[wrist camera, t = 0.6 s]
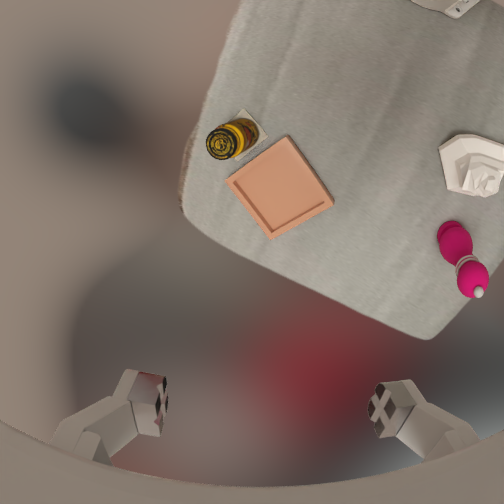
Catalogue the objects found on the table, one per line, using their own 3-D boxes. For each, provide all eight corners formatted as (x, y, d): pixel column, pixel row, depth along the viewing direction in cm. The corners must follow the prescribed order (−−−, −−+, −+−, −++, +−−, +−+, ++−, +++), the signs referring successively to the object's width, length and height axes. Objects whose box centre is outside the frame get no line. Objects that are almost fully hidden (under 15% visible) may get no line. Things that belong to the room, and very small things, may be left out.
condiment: (268, 136, 53) (248, 148, 43) (237, 161, 57) (212, 179, 48) (244, 107, 51) (218, 113, 41) (214, 134, 56) (184, 147, 46)
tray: (288, 134, 51) (285, 136, 49) (334, 200, 55) (333, 205, 53) (229, 177, 59) (224, 180, 57) (273, 234, 63) (270, 240, 61)
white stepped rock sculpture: (489, 194, 44) (506, 240, 35) (429, 173, 48) (436, 216, 39) (509, 143, 35) (537, 181, 26) (444, 116, 39) (461, 147, 30)
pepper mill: (437, 253, 53) (460, 317, 37) (432, 223, 50) (459, 282, 34) (466, 245, 50) (497, 306, 33) (462, 214, 47) (499, 270, 31)
